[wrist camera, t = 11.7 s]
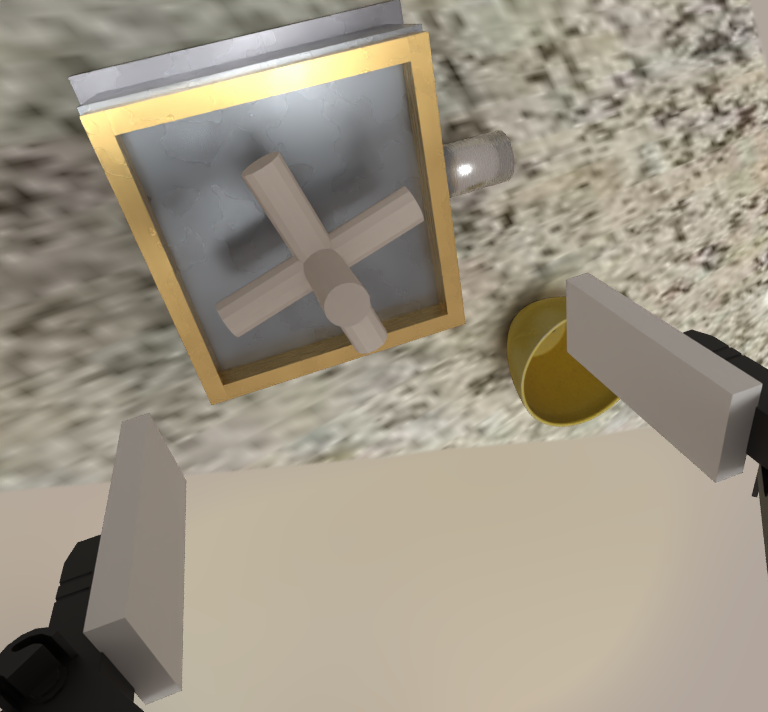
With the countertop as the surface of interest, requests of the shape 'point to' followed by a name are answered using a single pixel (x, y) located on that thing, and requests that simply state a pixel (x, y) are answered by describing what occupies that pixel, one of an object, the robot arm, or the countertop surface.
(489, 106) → the countertop surface
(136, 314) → the countertop surface
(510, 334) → the flower pot
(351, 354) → the grey gold-rimmed box
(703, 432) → the robot arm
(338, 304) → the pipe connector
